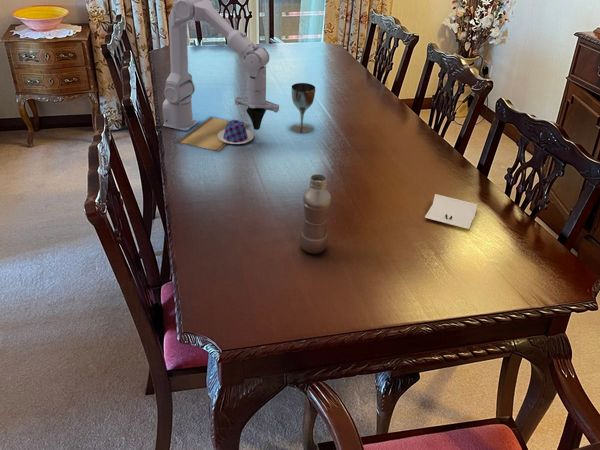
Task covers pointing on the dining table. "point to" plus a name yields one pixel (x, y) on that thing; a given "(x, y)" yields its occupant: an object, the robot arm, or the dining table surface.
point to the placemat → (207, 135)
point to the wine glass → (302, 103)
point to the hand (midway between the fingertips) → (256, 128)
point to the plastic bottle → (315, 215)
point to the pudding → (235, 133)
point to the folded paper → (452, 211)
